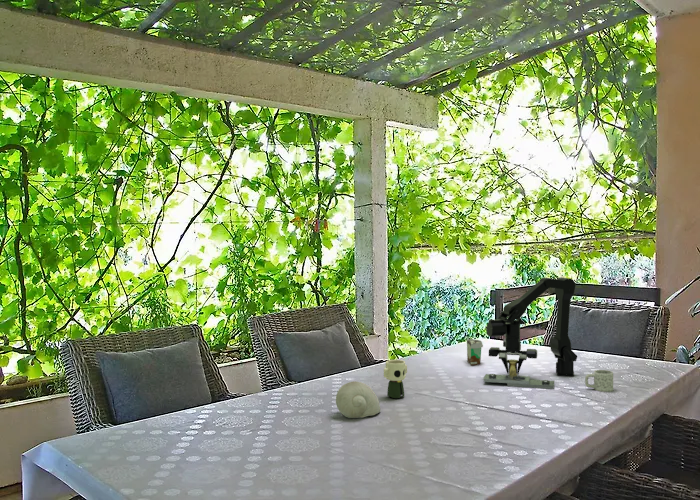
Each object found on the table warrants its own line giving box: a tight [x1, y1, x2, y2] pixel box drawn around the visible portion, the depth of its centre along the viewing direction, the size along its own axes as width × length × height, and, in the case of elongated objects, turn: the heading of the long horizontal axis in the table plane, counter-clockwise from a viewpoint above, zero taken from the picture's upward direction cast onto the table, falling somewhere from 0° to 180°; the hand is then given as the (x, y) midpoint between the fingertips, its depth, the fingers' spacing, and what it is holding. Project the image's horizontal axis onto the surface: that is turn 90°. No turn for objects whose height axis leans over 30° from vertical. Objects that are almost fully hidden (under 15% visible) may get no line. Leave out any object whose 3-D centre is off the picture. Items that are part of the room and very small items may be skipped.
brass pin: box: [507, 358, 519, 376], centre depth 265 cm, size 4×4×7 cm
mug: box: [584, 369, 614, 393], centre depth 245 cm, size 10×7×7 cm, turn 84°
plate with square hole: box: [483, 373, 555, 390], centre depth 255 cm, size 26×8×3 cm, turn 72°
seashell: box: [335, 380, 381, 419], centre depth 219 cm, size 15×14×15 cm
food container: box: [466, 338, 484, 367], centre depth 293 cm, size 12×6×10 cm, turn 179°
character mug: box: [383, 359, 408, 399], centre depth 238 cm, size 11×7×13 cm, turn 127°
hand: (512, 374), depth 265 cm, fingers closed on brass pin, 3 cm apart
